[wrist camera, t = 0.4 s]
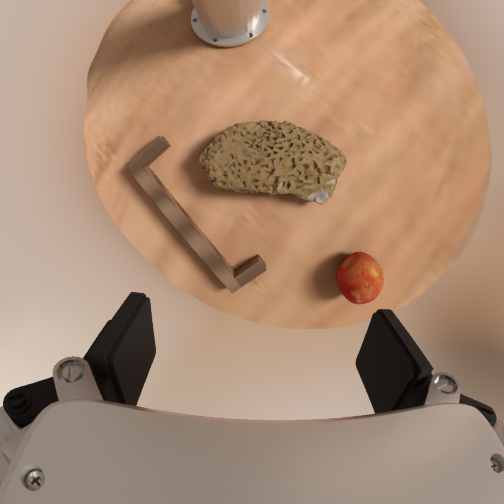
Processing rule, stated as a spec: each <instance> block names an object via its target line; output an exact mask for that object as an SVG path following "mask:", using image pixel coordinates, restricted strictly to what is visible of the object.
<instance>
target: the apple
mask: <svg viewBox="0 0 504 504" xmlns="http://www.w3.org/2000/svg"><path fill="white" fill-rule="evenodd" d="M383 280H384V278H383V272H382V270H381V267H380V266H379V264H378V263H377V261H376V260H375V259H374V258H372V257H371V256H370V255H368V254H366V253H363V252H355V253H352V254H350V255H349V256H348V257H346V258H345V259H344V261H343V262H342V263H341V264H340V266H339V269H338V273H337V282H338V287H339V289H340V291H341V292H342V294H343V295H344V296H345V298H346V299H348V300H349V301H350V302H352V303H355V304H365V303H368V302H371V301H373V300H374V299H375V298H376V297H377V296H378V295H379V294H380V292H381V290H382V287H383Z"/></svg>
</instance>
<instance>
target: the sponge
mask: <svg viewBox="0 0 504 504" xmlns="http://www.w3.org/2000/svg"><path fill="white" fill-rule="evenodd" d="M199 163H200V164H201V166H202V169H203V174H204V176H205V177H206V178H207V179H208V181H209V182H213V186H214V187H216V188H218V189H223V190H227V191H229V190H231V191H233V192H237V193H248V192H249V193H250V194H253V193H257V192H261V193H267V194H269V195H275V194H294V195H295V196H296V197H298V198H300V199H304V200H307V201H314V202H316V203H318V204H323V203H324V202H326V200H327V199H329V198H330V197H331V196H332V194H333V191H334V189H335V186H336V184H337V178H338V177H339V176H340V174H341V172H342V171H343V170H344V168H345V166H346V163H347V159H346V157H345V156H344V154H343V153H342V151H341V150H339V149H338V148H336V147H335V146H333V145H332V144H331V143H329V142H328V141H327V140H325V139H324V138H322V137H320V136H319V135H317V134H313V133H312V132H310V131H307V130H305V129H303V128H301V127H296V126H295V125H294V124H292V123H287V122H286V121H284V122H283V123H280V122H277V121H260V123H259V122H247V123H237V124H235V125H234V126H230V127H228V128H226V130H225V131H222V132H221V133H219V134H218V135H217V136H216V137H215V138H213V139H211V143H210V144H209V145H208V146H207V147H206V148H205V149H204V150H203V151H202V153H201V154H200V158H199Z"/></svg>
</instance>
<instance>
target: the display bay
mask: <svg viewBox="0 0 504 504" xmlns="http://www.w3.org/2000/svg"><path fill="white" fill-rule="evenodd" d="M170 146H171V145H170V144H169V143H168V142H167V140H166V139H165V138H164V137H160V136H157V137H156V138H155V139H154V140H153V141H152V142H151V143H150V144H149V145H148V146H146V147H145V148H144V149H143V150H142V151H141V152H140V153H139V154H138V155H137V156H136V157H135V158H134V159H133V160H132V161H131V162H130V163H129V164H128V165H127V166H126V168H127V169H128V170H129V172H130V173H131V174H132V175H133V177H134V178H135V179H136V180H137V182H138V183H139V184H140V186H141V187H142V188H143V189H144V190H145V192H146V193H147V194H148V195H149V197H150V198H151V199H152V200H153V202H154V203H155V204H156V205H157V207H158V208H159V209H160V210H161V211H162V213H163V214H164V215H165V216H166V217H167V219H168V220H169V221H170V222H171V223H172V225H173V226H174V227H175V228H176V229H177V231H178V232H179V233H180V234H181V235H182V237H183V238H184V239H185V240H186V241H187V242H188V244H189V245H190V246H191V247H192V248H193V249H194V251H195V252H196V253H197V254H198V255H199V256H200V258H201V259H202V260H203V261H204V262H205V263H206V264H207V266H208V267H209V268H210V269H211V270H212V271H213V272H214V274H215V275H216V276H217V277H218V278H219V279H220V280H221V281H222V283H223V284H224V285H225V286H226V287H227V288H228V289H229V290H230V292H231V293H233V292H235V291H236V290H238V289H239V288H241V287H242V286H244V285H245V284H247V283H248V282H250V281H251V280H253V279H254V278H256V277H257V276H259V275H260V274H262V273H263V272H265V271H266V265H265V262H264V261H263V260H262V258H261V257H260V256H259V255H257V256H255V257H254V258H252V259H251V260H249V261H248V262H247V263H245V264H244V265H242V266H241V267H239V268H238V269H237V270H234V269H233V268H232V267H231V266H230V264H229V263H228V262H227V261H226V260H225V258H224V257H223V256H222V255H221V254H220V253H219V251H218V250H217V249H216V248H215V247H214V245H213V244H212V243H211V242H210V241H209V240H208V238H207V237H206V236H205V235H204V234H203V232H202V231H201V230H200V229H199V228H198V226H197V225H196V224H195V223H194V222H193V220H192V219H191V218H190V217H189V215H188V214H187V213H186V212H185V211H184V209H183V208H182V207H181V206H180V205H179V203H178V202H177V201H176V200H175V198H174V197H173V196H172V195H171V194H170V192H169V191H168V190H167V189H166V187H165V186H164V185H163V184H162V182H161V181H160V180H159V179H158V177H157V176H156V175H155V174H154V173H153V171H152V170H151V169H150V168H149V165H150V164H151V163H152V162H153V161H154V160H156V159H157V158H158V157H159V156H160V155H161V154H162V153H163V152H164V151H166V150H167V149H168V148H169V147H170Z"/></svg>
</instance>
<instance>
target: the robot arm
mask: <svg viewBox="0 0 504 504" xmlns="http://www.w3.org/2000/svg"><path fill="white" fill-rule="evenodd" d="M191 1H192V3H193V5H194V8H193V11H192V13H191V26H192V28H193V30H194V32H195V34H196V35H197V36H198V37H199V38H200V39H201V40H203V41H204V42H206V43H208V44H211V45H214V46H218V47H236V46H241V45H244V44H247V43H249V42H251V41H253V40H255V39H256V38H258V37H259V36H260V35H261V34H262V33H263V32H264V31H265V29H266V27H267V25H268V22H269V9H268V7H267V4H266V3H265V2H264V0H191ZM196 21H197V22H196ZM249 36H252V37H249ZM214 41H217V42H214ZM155 354H156V346H155V338H154V331H153V322H152V314H151V304H150V299H149V298H148V297H146V295H145V294H144V293H137V292H131V293H130V294H129V296H128V297H127V299H126V300H125V301H124V303H123V304H122V305H121V307H120V308H119V310H118V311H117V312H116V314H115V315H114V317H113V318H112V320H109V321H108V322H107V324H106V325H105V326H104V328H103V329H102V331H101V332H100V333H99V335H98V336H97V338H96V339H95V341H94V342H93V344H92V345H91V347H90V348H89V350H88V352H87V353H86V354H85V356H84V358H83V359H82V358H80V357H67V358H64V359H62V360H60V361H59V362H58V363H57V364H56V365H55V366H54V369H53V377H51V378H48V379H45V380H41V381H38V382H35V383H32V384H28V385H25V386H21V387H18V388H15V389H13V390H11V391H10V392H9V393H7V395H6V396H5V398H4V401H3V406H2V407H0V504H504V424H503V423H502V422H501V421H498V423H496V415H495V412H494V411H493V409H492V408H491V407H489V406H487V405H485V404H483V403H481V402H478V401H476V400H474V399H471V398H469V397H467V396H464V395H462V394H460V390H461V389H460V384H459V382H458V381H457V379H456V378H454V377H453V376H452V375H450V374H447V373H444V372H439V373H436V374H434V375H432V374H431V372H432V370H433V367H432V366H431V364H430V363H429V361H428V360H427V358H426V357H425V356H424V354H423V353H422V351H421V350H420V348H419V347H418V346H417V344H416V343H415V341H414V340H413V339H412V337H411V336H410V334H409V333H408V332H407V330H406V329H405V327H404V326H403V325H402V323H401V322H400V321H399V319H398V318H397V317H396V316H395V314H394V313H393V311H392V310H390V309H379V310H377V312H376V313H374V314H373V315H372V318H371V321H370V324H369V327H368V330H367V332H366V335H365V338H364V341H363V343H362V346H361V349H360V351H359V353H358V356H357V359H356V367H357V370H358V372H359V375H360V377H361V379H362V382H363V384H364V387H365V389H366V392H367V394H368V396H369V399H370V401H371V404H372V406H373V409H374V412H375V414H370V415H362V416H353V417H343V418H331V419H317V420H291V421H290V420H289V421H287V420H286V421H272V420H270V421H268V420H241V419H225V418H213V417H204V416H195V415H187V414H180V413H173V412H166V411H159V410H154V409H148V408H143V407H138V406H136V405H137V402H138V399H139V397H140V394H141V391H142V388H143V386H144V383H145V381H146V378H147V375H148V373H149V370H150V368H151V365H152V362H153V360H154V357H155Z"/></svg>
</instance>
